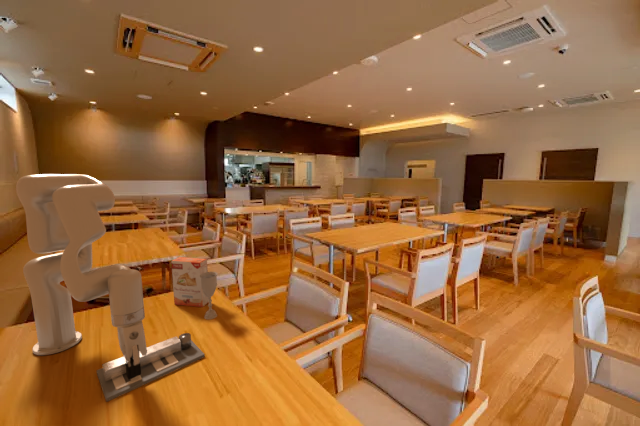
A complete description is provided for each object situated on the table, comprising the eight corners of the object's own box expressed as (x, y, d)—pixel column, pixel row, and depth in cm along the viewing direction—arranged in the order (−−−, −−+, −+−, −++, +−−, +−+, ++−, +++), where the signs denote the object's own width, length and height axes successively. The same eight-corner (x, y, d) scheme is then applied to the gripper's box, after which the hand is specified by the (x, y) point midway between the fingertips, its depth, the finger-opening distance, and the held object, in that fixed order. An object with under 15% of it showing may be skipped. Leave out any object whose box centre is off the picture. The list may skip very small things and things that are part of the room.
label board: (96, 373, 85) (96, 369, 85) (186, 337, 103) (186, 334, 103) (106, 401, 75) (105, 397, 74) (204, 356, 93) (204, 352, 93)
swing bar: (103, 376, 82) (102, 364, 82) (188, 341, 99) (188, 331, 98) (106, 383, 79) (104, 371, 79) (193, 346, 96) (192, 336, 96)
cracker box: (173, 305, 128) (170, 260, 125) (182, 299, 134) (179, 256, 131) (202, 308, 126) (199, 262, 123) (209, 301, 132) (207, 258, 129)
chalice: (213, 321, 115) (211, 278, 112) (198, 319, 116) (195, 277, 113) (222, 312, 122) (221, 272, 119) (208, 311, 123) (206, 271, 120)
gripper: (151, 320, 76) (156, 382, 78) (137, 301, 86) (142, 357, 89) (117, 331, 71) (124, 397, 73) (106, 310, 81) (112, 369, 84)
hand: (134, 375), depth 81 cm, fingers closed
